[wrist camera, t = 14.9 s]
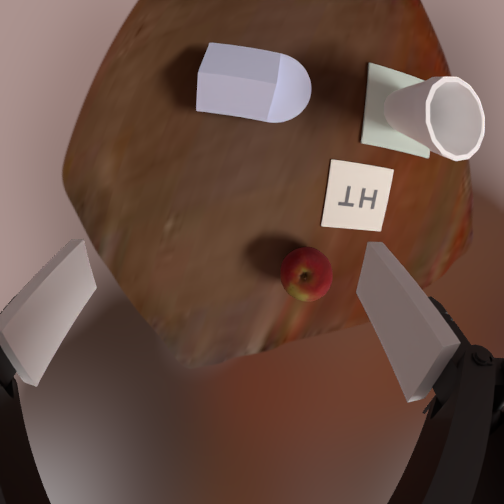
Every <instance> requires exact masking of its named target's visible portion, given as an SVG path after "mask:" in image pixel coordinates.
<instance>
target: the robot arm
mask: <svg viewBox="0 0 504 504" xmlns="http://www.w3.org/2000/svg"><path fill="white" fill-rule="evenodd" d="M95 289H96V284H95V281H94V278H93V274H92V270H91V266H90V263H89V259H88V255H87V251H86V247H85V243H84V239H78V240H75V239H74V240H71V241H70V242H69V243H67V244H66V245H65V246H64V247H63V248H62V249H61V250H60V251H59V252H58V253H57V254H56V255H55V256H54V257H53V258H52V259H51V260H50V261H49V262H48V263H47V264H46V265H45V266H44V267H43V268H42V269H41V270H40V271H39V272H38V273H37V274H36V275H35V276H34V277H33V278H32V279H31V280H30V281H29V282H28V283H27V284H26V285H25V286H24V288H23V289H22V290H21V291H20V292H19V293H18V294H17V295H16V296H15V297H14V298H13V299H12V300H11V301H10V302H9V303H8V305H7V306H6V307H5V308H4V309H3V311H2V312H1V313H0V504H51V503H50V501H49V498H48V496H47V494H46V491H45V489H44V486H43V483H42V481H41V478H40V475H39V473H38V470H37V467H36V464H35V460H34V457H33V454H32V451H31V448H30V444H29V440H28V436H27V432H26V428H25V424H24V419H23V414H22V409H21V404H20V398H19V393H18V386H17V382H16V380H15V379H14V377H13V376H14V375H15V373H16V372H17V373H18V374H19V376H20V377H21V379H22V380H23V382H26V383H28V384H31V385H34V386H37V385H38V383H39V381H40V379H41V377H42V376H43V374H44V372H45V370H46V368H47V366H48V365H49V362H50V361H51V359H52V357H53V356H54V354H55V352H56V350H57V349H58V347H59V345H60V344H61V342H62V340H63V339H64V337H65V336H66V334H67V332H68V330H69V329H70V327H71V326H72V324H73V323H74V321H75V320H76V318H77V316H78V315H79V313H80V312H81V310H82V309H83V307H84V306H85V304H86V303H87V301H88V300H89V298H90V297H91V295H92V293H93V292H94V291H95ZM356 293H357V295H358V297H359V299H360V301H361V303H362V305H363V307H364V309H365V311H366V313H367V315H368V317H369V319H370V321H371V323H372V325H373V327H374V329H375V331H376V333H377V335H378V337H379V339H380V341H381V343H382V346H383V348H384V350H385V352H386V354H387V356H388V359H389V361H390V363H391V365H392V367H393V370H394V372H395V374H396V377H397V379H398V381H399V383H400V386H401V388H402V390H403V393H404V395H405V398H406V400H407V402H412V401H415V400H419V399H423V398H425V397H426V396H427V394H428V393H429V392H430V390H431V389H432V388H433V389H434V392H435V394H436V395H435V396H434V398H433V399H432V400H431V402H430V403H429V404H428V405H427V407H426V408H425V410H424V411H423V413H424V414H425V413H426V412H427V410H428V409H429V411H428V414H427V417H426V420H425V423H424V425H423V428H422V431H421V433H420V436H419V439H418V441H417V444H416V446H415V448H414V451H413V453H412V455H411V458H410V460H409V462H408V464H407V467H406V469H405V471H404V473H403V475H402V477H401V479H400V481H399V483H398V485H397V487H396V489H395V491H394V493H393V495H392V496H391V498H390V500H389V502H388V503H387V504H504V358H494V357H493V355H492V354H491V353H490V352H489V351H488V350H487V349H486V348H484V347H482V346H479V345H471V344H470V343H469V341H468V340H467V338H466V337H465V336H464V335H463V333H462V331H461V330H460V329H459V327H458V326H457V324H456V323H455V322H454V321H453V319H452V318H451V317H450V315H449V314H447V311H446V310H445V309H444V307H443V306H442V305H441V304H440V303H439V302H438V301H436V300H435V299H434V298H432V297H427V296H426V294H425V293H424V292H423V290H422V289H421V288H420V287H419V285H418V284H417V283H416V282H415V280H414V279H413V278H412V277H411V275H410V274H409V273H408V272H407V271H406V269H405V268H404V267H403V266H402V265H401V263H400V262H399V261H398V260H397V259H396V257H395V256H394V255H393V254H392V253H391V252H390V250H389V249H388V248H387V247H386V246H385V245H384V244H383V243H382V242H368V243H367V248H366V252H365V257H364V262H363V266H362V270H361V275H360V279H359V283H358V287H357V291H356Z"/></svg>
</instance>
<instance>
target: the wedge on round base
mask: <svg viewBox="0 0 504 504" xmlns="http://www.w3.org/2000/svg"><path fill="white" fill-rule="evenodd" d="M310 96H311V81H310V78H309V75H308V73H307V71H306V70H305V68H304V67H303V66H302V65H301V64H300V63H299V62H298V61H296V60H295V59H293V58H292V57H290V56H287V55H284V54H281V53H276V52H271V51H266V50H261V49H255V48H249V47H242V46H235V45H228V44H219V43H209V46H208V48H207V51H206V53H205V56H204V58H203V61H202V63H201V66H200V68H199V71H198V81H197V102H196V111H202V112H210V113H217V114H224V115H231V116H237V117H243V118H249V119H254V120H260V121H265V122H275V123H277V122H284V121H287V120H290V119H292V118H294V117H296V116H297V115H298V114H300V113H301V112H302V111H303V110H304V108H305V107H306V106H307V104H308V102H309V99H310Z"/></svg>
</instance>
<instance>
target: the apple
mask: <svg viewBox="0 0 504 504" xmlns="http://www.w3.org/2000/svg"><path fill="white" fill-rule="evenodd" d="M280 274H281V282H282V284H283V287H284V289H285V290H286V291H287V293H288V294H289V295H291V296H292V297H294V298H296V299H298V300H301V301H314V300H317V299H319V298H321V297H322V296H323V295H325V294H326V292H327V291H328V290H329V288H330V286H331V283H332V268H331V264H330V262H329V260H328V259H327V257H326V256H325V255H324V254H322V253H321V252H320V251H318V250H317V249H315V248H312V247H301V248H298V249H295V250H293V251H292V252H290V253H289V254H288V255H287V256H286V257H285V258H284V260H283V262H282V265H281V272H280Z"/></svg>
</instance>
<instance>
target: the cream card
mask: <svg viewBox="0 0 504 504" xmlns="http://www.w3.org/2000/svg"><path fill="white" fill-rule="evenodd" d="M393 172H394V170H393V169H388V168H383V167H377V166H372V165H366V164H360V163H354V162H347V161H341V160H334V159H331V165H330V172H329V179H328V185H327V192H326V198H325V205H324V211H323V217H322V223H321V226H324V227H337V228H349V229H360V230H371V231H381V227H382V223H383V219H384V215H385V211H386V206H387V202H388V197H389V192H390V187H391V182H392V177H393Z"/></svg>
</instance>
